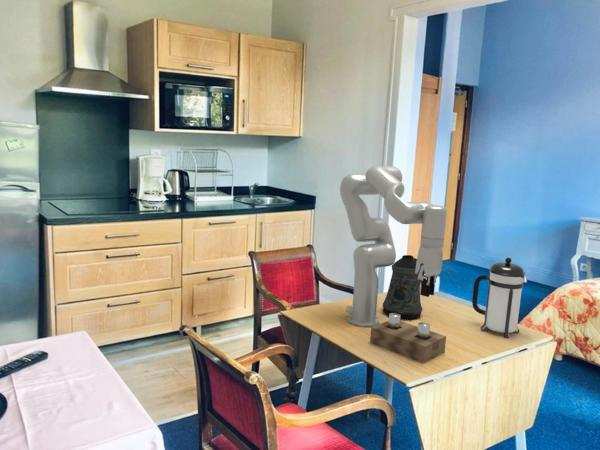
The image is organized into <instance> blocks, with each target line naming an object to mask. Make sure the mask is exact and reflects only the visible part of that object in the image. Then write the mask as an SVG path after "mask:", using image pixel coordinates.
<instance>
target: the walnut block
mask: <svg viewBox="0 0 600 450" xmlns="http://www.w3.org/2000/svg"><path fill="white" fill-rule="evenodd" d="M388 324H389V320H386V321H384V322H382V323H379V324H378V325H376V326H371V327H370V338H369V343H370V345H373V346H377V347H379V348H382V349H385V350H387V351H390V352H392V353H395V354H397V355H400V356H403V357H405V358H408V359H411V360H413V361H416V362H419V363H421V364H423V365H424V364H426V363H427V362H429V361H431V360H433V359H435V358H436V357H439V356H441V355H442V354H444V353H445V352H446V342H447V341H446V340H447V335H443V334H441V333H439V332H436V331H435V332H434V331H431V330H430V333H429V339H428V340H423V339H420V338H417V333H418V325H413V324H411V323H407V322H404V321H403V320H400V327H399V329H397V330H394V329H391V328H388Z"/></svg>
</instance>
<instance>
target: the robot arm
mask: <svg viewBox="0 0 600 450" xmlns="http://www.w3.org/2000/svg"><path fill="white" fill-rule="evenodd" d="M339 192H340V193H339V194H340V198H341V201H342V203H343V205H344V208H345V211H346V215H347V219H348V222H349V223H348V224H349V228H350V231H351V235H352V238H353V239H354V241H356V242H358V243H365V244H362V245H358V246H356V248H355V249H354V251H353V255H352V257H353V263H354V278H353V279H354V281H353V298H352V306H351V305H347V306H346V308H345V312H347V313H349V315H348V317H347V321H348V322H349V323H350V324H352V325H354V326H359V327H365V328H366V327H369V328H371V327H373V326H376V325H378V324H380V318H378V317H377V307H378V306H377V305H378V293H379V276H378V274H377V272H376V269H377V268H386V267H390V266H391V267H392V265H393V264H394V263H395V262H396V259H397V254H396V249H395V248H396V247H395V244H394V240H393V236H392V232H391V229H390V225H389V223H388V222H387V221H386V220H385V219H384V218H382V217H371V216H370V212H369V209H368V206H367V204H366V202H365V200H363V199H362V198H361V197H360V195H362V196H371V195H380V196H381V197H382V198H383V199H384V207H385V210H386V212H387V214H389V215H390V216H391V218H393V219H394V220H396V222H398V223H400V224H401V225H402V224H403V225H413V224H414V225H415V224H416V225H417V224H420V225H421V232H420V233H421V234H420V246H419V248H418V251H417V257H416V259H417V262H416V269H415V273H416V274H417V275H418V280H420V281H421V284H420V296H423V297H427V298H429V297H430V296H434V295H435V288H436V283H437V278H438V277H439V275H440V273H442V269H443V268H442V267H443V256H444V255H443V251H444V250H443V249H444V243H445V233H446V223H447V212H448V210H447V207H445V206H444V205H438V204H433V203H431V202H428V201H404V200H403V199H401V198H402V197H403V195H404V193H405V185H404V183H403V173H402V171H401V170H400V169H399V168H398V167H396V166H394V165H374V166H371V167H370V168H368V169H367V170H366V172H365V173H351V174H347V175H345V176H344V177H343V178H342V180H341V182H340V187H339ZM368 242H374V243H368ZM366 243H368V244H366Z"/></svg>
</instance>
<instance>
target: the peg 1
mask: <svg viewBox="0 0 600 450" xmlns="http://www.w3.org/2000/svg"><path fill="white" fill-rule="evenodd" d="M400 316H401V315H400V314H397V313H390V314H389V317H388V321H389V324H388V328H391V329H394V330H397V329H399V327H400V321H401V320H400Z"/></svg>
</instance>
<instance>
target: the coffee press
mask: <svg viewBox="0 0 600 450" xmlns="http://www.w3.org/2000/svg"><path fill="white" fill-rule="evenodd" d="M504 260H505V261H504V262H503V261H502V262H500V261H499V262H495V263H493V264H492V265H491V267H489V275H487V274H483V275H479V276H478V277H476V279H475V280H474V284H473V289H472V299H471V303H472V307H473V309H474V311H475V312H477V313H478V314H480V315H483V316H484V322H483V324H482V325H481V327H480V330H481V331H482V332H486V331H487V330H490V331H494V332H497V333H502V334H503V338H504V339H509V337H510V333H514V332H515V333H516V334H519V333H520V329H519V327H518V323H519V313H520V306H521V297H522V291H523V288H524V283H527V277H526V272H525V271H524V268H523V267H522V266H521V265H518V264H515V263H512V258H510V257H506V258H505V259H504ZM481 281H488V289H487V296H486V305H485V310H483V309H481V308H480V306H478V299H479V298H478V297H479V288H480V283H481ZM484 327H485V328H484Z"/></svg>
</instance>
